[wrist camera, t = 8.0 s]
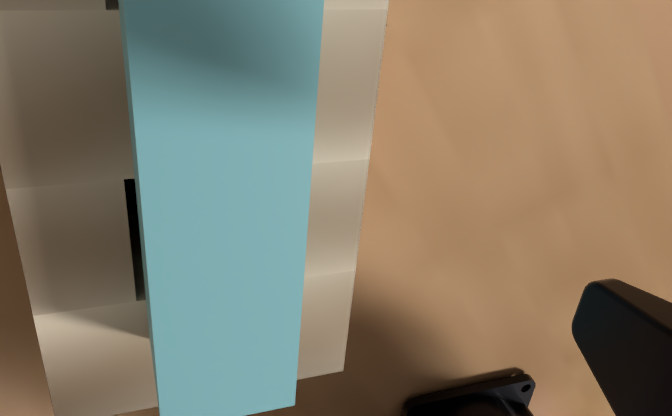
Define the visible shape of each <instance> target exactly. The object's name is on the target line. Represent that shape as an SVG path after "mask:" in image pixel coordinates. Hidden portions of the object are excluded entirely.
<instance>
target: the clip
mask: <svg viewBox="0 0 672 416" xmlns="http://www.w3.org/2000/svg"><path fill="white" fill-rule="evenodd" d="M118 3H119V14H120V25H121V36H122V47H123V57H124V68H125V79H126V90H127V101H128V111H129V122H130V133H131V144H132V154H133V165H134V176H135V187H136V198H137V208H138V219H139V230H140V241H141V252H142V262H143V273H144V284H145V295H146V306H147V316H148V327H149V338H150V346H151V354H152V362H153V369H154V377H155V385H156V393H157V401H158V408H159V416H246V415H250V414H255V413H260V412H265V411H270V410H275V409H280V408H285V407H289V406H294V405H295V396H296V382H297V368H298V355H299V341H300V327H301V313H302V299H303V286H304V272H305V258H306V244H307V230H308V217H309V203H310V189H311V175H312V161H313V148H314V134H315V120H316V106H317V92H318V79H319V65H320V51H321V37H322V23H323V10H324V0H118Z"/></svg>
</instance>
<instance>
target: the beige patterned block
mask: <svg viewBox="0 0 672 416" xmlns="http://www.w3.org/2000/svg"><path fill="white" fill-rule="evenodd" d="M388 4H389V0H324V10H323V23H322V37H321V51H320V65H319V79H318V92H317V106H316V120H315V134H314V148H313V161H312V175H311V189H310V203H309V217H308V230H307V244H306V258H305V272H304V286H303V299H302V313H301V327H300V341H299V355H298V368H297V380H299V379H304V378H309V377H314V376H319V375H325V374H330V373H335V372H340V371H343V368H344V360H345V352H346V344H347V336H348V328H349V320H350V312H351V303H352V295H353V287H354V279H355V271H356V263H357V255H358V247H359V239H360V231H361V223H362V215H363V207H364V198H365V190H366V182H367V174H368V166H369V158H370V150H371V142H372V134H373V126H374V118H375V110H376V101H377V93H378V85H379V77H380V69H381V61H382V53H383V45H384V37H385V29H386V21H387V13H388ZM0 166H1V170H2V175H3V180H4V184H5V189H6V194H7V198H8V203H9V207H10V212H11V217H12V221H13V226H14V230H15V235H16V240H17V244H18V249H19V254H20V258H21V263H22V267H23V272H24V277H25V281H26V286H27V290H28V295H29V300H30V304H31V309H32V314H33V318H34V323H35V327H36V332H37V337H38V341H39V346H40V350H41V355H42V360H43V364H44V369H45V374H46V378H47V383H48V387H49V392H50V397H51V401H52V406H53V410H54V415H55V416H112V415H117V414H122V413H127V412H133V411H138V410H143V409H148V408H153V407H158V401H157V393H156V385H155V377H154V369H153V362H152V354H151V346H150V338H149V327H148V316H147V306H146V295H145V284H144V273H143V262H142V252H141V241H140V230H139V219H138V214H130V215H127V205H126V196H125V186H124V179H134V178H135V176H134V165H133V154H132V144H131V133H130V122H129V111H128V101H127V90H126V79H125V68H124V57H123V47H122V36H121V25H120V14H119V3H118V0H0Z"/></svg>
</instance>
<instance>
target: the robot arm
mask: <svg viewBox="0 0 672 416" xmlns="http://www.w3.org/2000/svg"><path fill="white" fill-rule="evenodd" d="M572 334H573V337H574V339H575V341H576V343H577V345H578V347H579V349H580V351H581V353H582V354H583V356H584V358H585V360H586V362H587V364H588V365H589V367H590V369H591V371H592V373H593V375H594V376H595V378H596V380H597V382H598V384H599V386H600V388H601V389H602V391H603V393H604V395H605V397H606V399H607V400H608V402H609V404H610V406H611V408H612V410H613V412H614V413H615V415H616V416H672V303H671V302H668V301H666V300H664V299H662V298H659V297H657V296H655V295H652V294H650V293H648V292H645V291H643V290H641V289H638V288H636V287H634V286H631V285H629V284H627V283H625V282H622V281H620V280H617V279H605V280H599V281H593V282H590V283H589V284H588V285H587V286H586V287H585V289H584V291H583V293H582V296H581V299H580V302H579V304H578V307H577V310H576V313H575V315H574V318H573V321H572ZM534 388H535V382H534V380H533V379H532V378H531V376H530V375H528V374H522V375H518V376H513V377H508V378H504V379H499V380H494V381H490V382H485V383H480V384H476V385H471V386H466V387H462V388H457V389H452V390H448V391H443V392H438V393H434V394H429V395H424V396H420V397H415V398H412V399H410V400H408V401H407V402H406V403H405V404H404V406H403V409H402V414H401V416H533V414H532V413H531V411H530V410H529V409H528V405H529V402H530V400H531V397H532V394H533V391H534Z"/></svg>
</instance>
